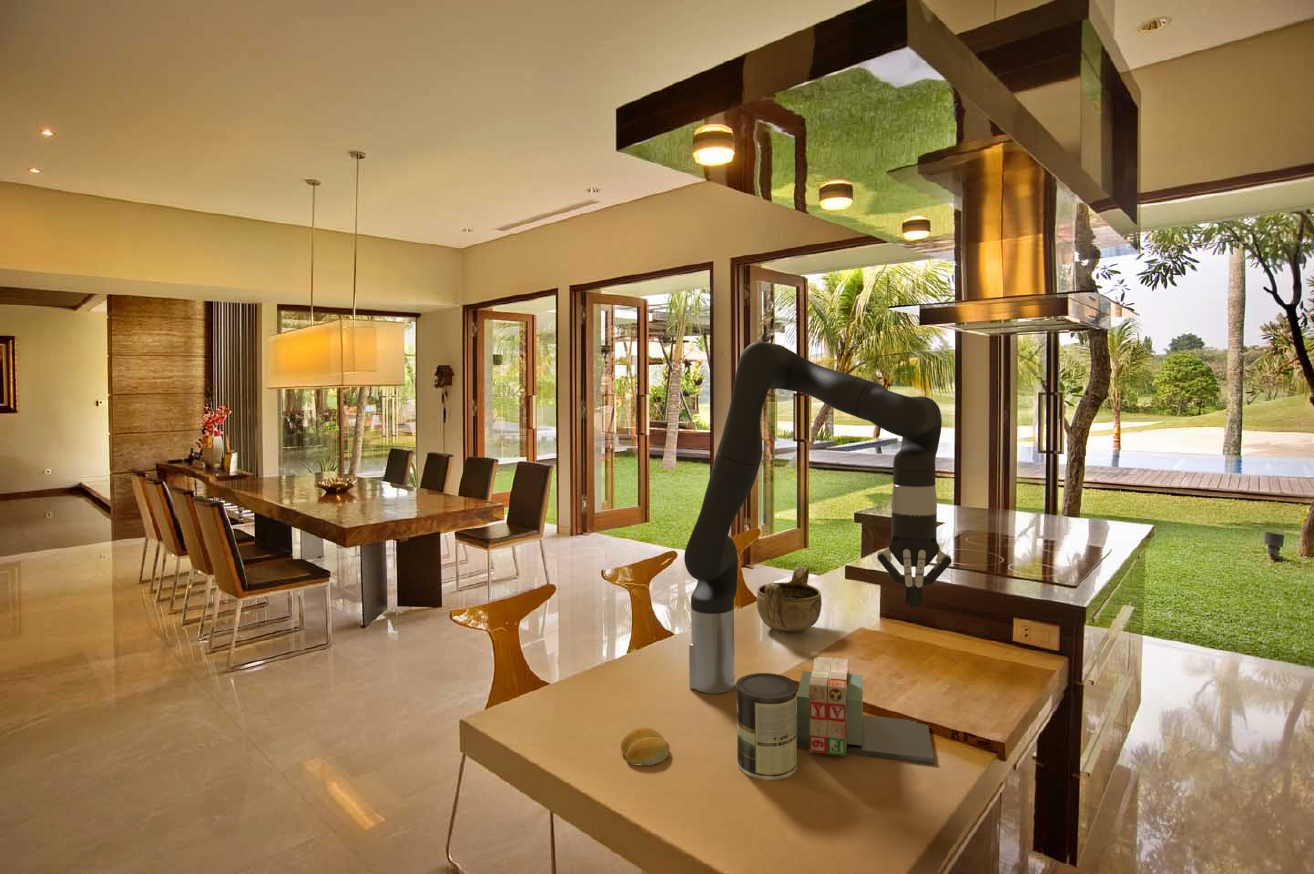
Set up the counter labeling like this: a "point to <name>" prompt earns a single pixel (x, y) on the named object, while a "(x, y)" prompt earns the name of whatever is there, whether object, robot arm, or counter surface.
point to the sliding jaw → (855, 709)
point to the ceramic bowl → (790, 603)
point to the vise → (873, 733)
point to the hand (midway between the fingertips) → (913, 606)
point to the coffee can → (766, 726)
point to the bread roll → (645, 747)
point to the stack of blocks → (828, 706)
